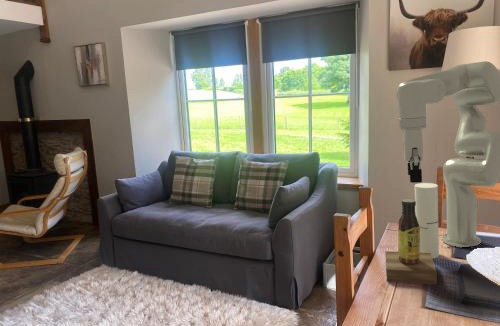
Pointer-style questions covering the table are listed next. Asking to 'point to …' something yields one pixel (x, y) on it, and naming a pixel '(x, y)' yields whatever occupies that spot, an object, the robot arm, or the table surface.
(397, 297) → the table surface
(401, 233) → the sauce bottle
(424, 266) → the walnut plinth
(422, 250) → the cylindrical container
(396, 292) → the table surface
